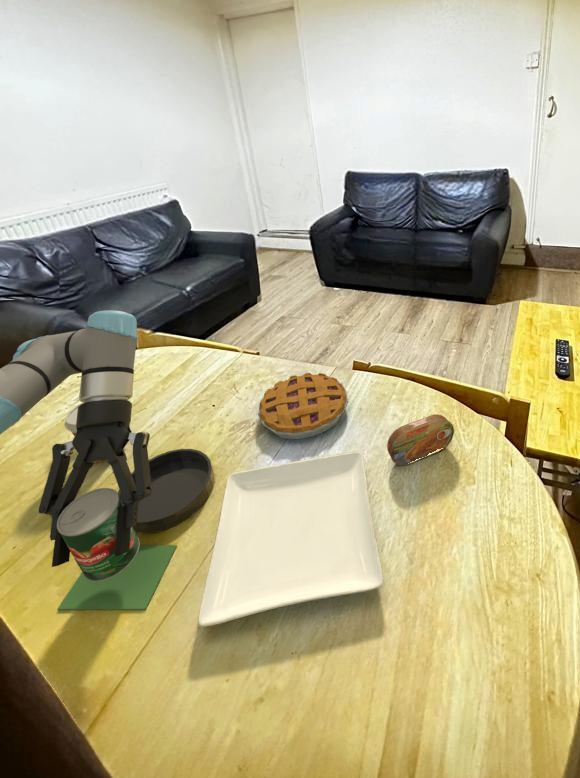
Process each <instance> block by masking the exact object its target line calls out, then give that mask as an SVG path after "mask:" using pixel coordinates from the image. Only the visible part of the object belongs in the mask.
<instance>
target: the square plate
mask: <svg viewBox="0 0 580 778" xmlns="http://www.w3.org/2000/svg"><path fill="white" fill-rule="evenodd" d="M367 483H368V482H367V476H366V467H365V459H364V455H363V452H362V451H360V450H356V451H355V450H354V451H349V452H343V453H336V454H331V455H330V454H329V455H325V456H319V457H314V458H307V459H301V460H296V461H291V462H285V463H279V464H274V465H269V466H268V465H267V466H261V467H255V468H251V469H245V470H240V471H236V472H235V471H234V472H231V473H230V474H229V475H228V476H227V479H226V484H225V489H224V492H223V493H224V494H223V499H222V505H221V510H220V515H219V519H218V526H217V529H216V530H217V531H216V535H215V540H214V544H213V550H212V552H211V553H212V554H211V558H210V562H209V568H208V571H207V575H206V580H205V584H204V589H203V592H202V597H201V602H200V606H199V610H198V617H197V623H198V626H199V627H201V628H203V627H211V626H216V625H220V624H224V623H226V622H230V621H234V620H237V619H240V618H244V617H248V616H252V615H255V614H258V613H263V612H266V611H269V610H273V609H277V608H281V607H286V606H290V605H291V606H292V605H296V604H301V603H305V602H310V601H317V600H323V599H329V598H332V597H341V596H345V595H352V594H357V593H358V594H359V593H365V592H368V591H369V592H370V591H373V590H376V589H379V588H381V587H383V584H384V576H383V569H382V568H383V567H382V562H381V557H380V553H379V552H380V551H379V546H378V543H377V538H376V532H375V528H374V522H373V517H372V512H371V505H370V498H369V491H368V484H367Z"/></svg>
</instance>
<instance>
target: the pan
mask: <svg viewBox="0 0 580 778" xmlns="http://www.w3.org/2000/svg"><path fill="white" fill-rule="evenodd" d="M212 464H213V463H212V460H211V459H210V458H209V457H208V455H207V454H206V453H204V452H203V451H200V450H198V449H193V448H178V449H173V450H169V451H165V452H163V453H160V454H158V455H155V456H153V457H152V458H149V468H150V477H151V486H152V494H151V495H150V496H148V497H146V498H144V499H142V500H140V502H139V504H138V514H137V523H136V526H133V528H134V531H135V533H136V534H155V533H159V532H162V531H166V530H168V529H171V528H173V527H176V526H177V525H179V524H181V523H183V522H184V521H186V520H188V519H189V518H190V517H192V516H193V515H194V514H195V513H196V512H197V511H199V509H200V508H202V506H203V505H204V504H205V503H206V502H207V500H208V499H209V497H210V496H211V493H212V491H213V489H214V485H215V479H216V478H215V472H214V468H213V467H214V466H213V465H212ZM131 474H132V477H133V480H134V482H135V485H136V481H135V471H134V470H133V471H132V472H131ZM117 493H118V495H119V498H120V500H121V502H122V503H124V500H123V497H122V495H121V492H120V489H119V488H118V491H117ZM123 506H124V505H123Z"/></svg>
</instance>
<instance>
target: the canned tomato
mask: <svg viewBox="0 0 580 778" xmlns="http://www.w3.org/2000/svg"><path fill="white" fill-rule="evenodd" d="M120 506H123V504H122V502H121V500H120V498H119V495H118V491H117V490H115V489H114V488H111V487H100V488H95V489H92V490H90V491H88V492H85V493H83V494H81V495H79V496H77V497H76V498H75V500H74V501H72V502H71V503H70V504H69V505H68V506H67V507H66V508H65V509H64V510H63V511H62V513H61V515H60V516H59V518H58V521H57V529H58V531H59V533H61V535H62V538H63V539H64V541H65V543H66V545H67V546H68V548H69V550H70V554H71V555H72V557H73V559H74V560H75V563H76V564H77V566H78V568H79V569H80V571H81V573H82V572H83V575H84V577H85V578H86V579H87V580H88V581H91V582H103V581H106V580H109V579H111V578H113V577H115V576H117V575H118V574H120V573H121V572H122V571H124V570H125V569H126V568H127V567H128V566H129V565H130V564H131V563H132V561H133V560H134V559H135V557H136V555H137V553H138V551H139V547H140V538H139V537H138V535H137V532H135V531H134V528H133V527H131V534H130V549H129V551H128V552H126V553H124V554H122V555H119V556H115V546H116V533H117V519H118V507H120Z"/></svg>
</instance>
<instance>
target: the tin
mask: <svg viewBox="0 0 580 778" xmlns="http://www.w3.org/2000/svg"><path fill="white" fill-rule="evenodd" d="M454 434H455V428H454V425H453V423H452V422H451V421H449V419H448V418H447V417H445V416H444V415H442V414H436V413H435V414H430V415H429V416H426V417H423V418H420V419H418V420H415V421H413V422H409V423H407V424H404V425H401V426H400V427H397V428H396V429H395V430H394V431H393V432H392V433H391V434H390V436H389V437H388V440H387V444H386V449H387V453H388V455H389V456H390V459H391V461H392V462H393V463H394V464H395V465H398V466H407V465H406V464H408V463H410V462H412V461H415V460H416V459H419V458H422V457H425V456H427V455H428V454H429V453H432V452H434V451H436V450H437V449H441V448H445V449H447V447H448V446H449V445H450V444H451V442H452V440H453V437H454Z"/></svg>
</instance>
